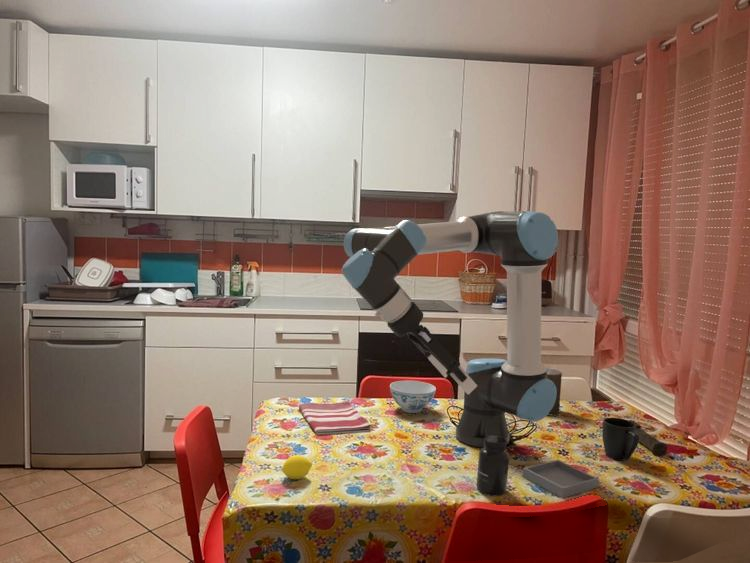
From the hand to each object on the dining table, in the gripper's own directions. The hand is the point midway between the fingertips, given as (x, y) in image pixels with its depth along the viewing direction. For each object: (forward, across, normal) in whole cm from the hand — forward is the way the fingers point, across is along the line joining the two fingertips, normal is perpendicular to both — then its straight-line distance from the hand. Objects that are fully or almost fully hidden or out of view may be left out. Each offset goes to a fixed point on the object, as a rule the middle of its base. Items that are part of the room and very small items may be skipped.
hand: (460, 381), depth 126 cm
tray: (+38, -2, +2) cm, 38 cm away
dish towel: (+5, -51, -32) cm, 61 cm away
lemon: (-5, -12, -42) cm, 44 cm away
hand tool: (+65, -23, +30) cm, 75 cm away
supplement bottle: (+25, 0, -11) cm, 27 cm away
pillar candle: (+56, -54, +21) cm, 80 cm away
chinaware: (+24, -59, -12) cm, 65 cm away
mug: (+55, -13, +20) cm, 60 cm away
